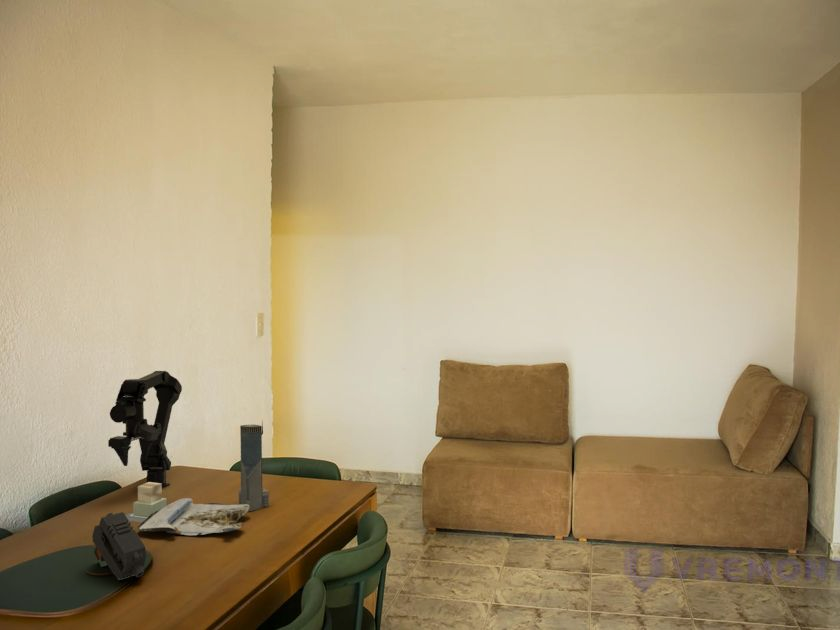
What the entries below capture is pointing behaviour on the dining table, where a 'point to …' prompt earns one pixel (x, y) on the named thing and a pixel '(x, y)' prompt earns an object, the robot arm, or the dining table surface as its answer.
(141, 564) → the tool
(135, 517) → the slate mat
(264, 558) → the dining table surface
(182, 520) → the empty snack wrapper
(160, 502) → the sage block
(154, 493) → the birch cube
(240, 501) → the building
